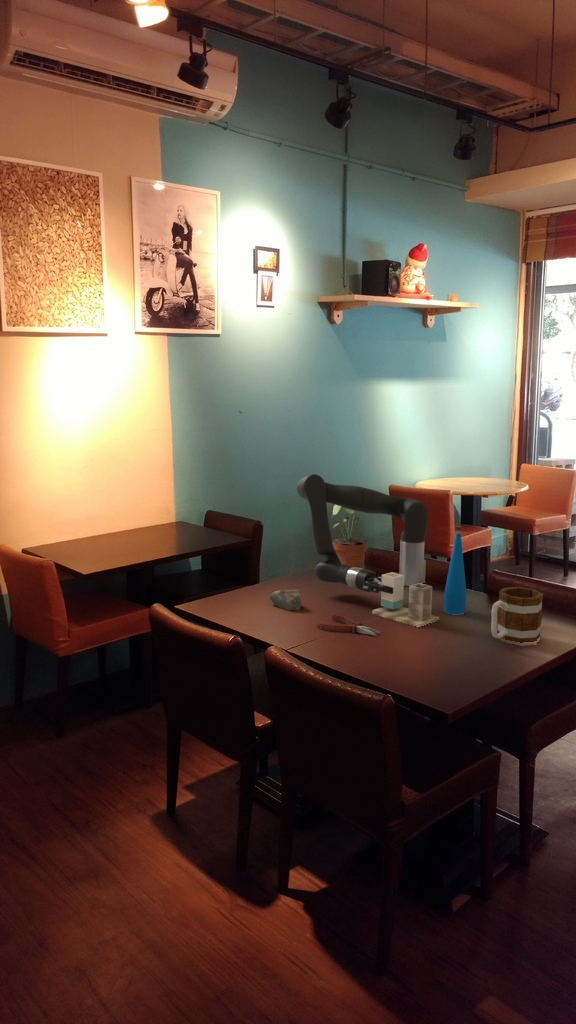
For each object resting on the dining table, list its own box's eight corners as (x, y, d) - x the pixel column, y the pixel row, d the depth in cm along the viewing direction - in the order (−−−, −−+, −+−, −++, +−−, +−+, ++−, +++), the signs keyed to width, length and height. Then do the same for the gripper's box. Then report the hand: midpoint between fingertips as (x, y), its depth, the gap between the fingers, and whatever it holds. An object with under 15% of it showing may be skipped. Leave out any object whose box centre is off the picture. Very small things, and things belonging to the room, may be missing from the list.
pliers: (369, 642, 243) (370, 634, 243) (315, 629, 255) (315, 621, 254) (387, 632, 252) (387, 624, 252) (334, 620, 264) (334, 613, 263)
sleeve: (380, 605, 270) (381, 574, 268) (390, 602, 274) (392, 572, 272) (392, 609, 266) (394, 578, 264) (402, 606, 270) (404, 575, 268)
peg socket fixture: (372, 613, 270) (373, 579, 268) (393, 607, 277) (394, 573, 275) (418, 627, 255) (420, 591, 253) (439, 620, 263) (440, 585, 261)
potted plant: (340, 565, 334) (342, 484, 328) (372, 571, 325) (374, 488, 319) (321, 573, 322) (322, 489, 315) (353, 579, 313) (355, 493, 306)
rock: (266, 603, 280) (266, 586, 279) (283, 599, 286) (284, 582, 285) (292, 612, 271) (293, 594, 270) (310, 607, 277) (310, 589, 276)
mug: (514, 629, 255) (517, 584, 252) (549, 640, 244) (553, 594, 242) (473, 640, 244) (476, 594, 241) (508, 653, 233) (511, 605, 230)
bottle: (454, 616, 267) (459, 529, 262) (439, 610, 273) (443, 525, 268) (469, 613, 271) (474, 527, 266) (454, 607, 277) (459, 523, 272)
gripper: (348, 572, 274) (385, 582, 262) (375, 565, 283) (412, 575, 271) (347, 593, 275) (384, 604, 263) (374, 585, 285) (411, 595, 273)
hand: (398, 589), depth 267 cm, fingers closed on sleeve, 5 cm apart
